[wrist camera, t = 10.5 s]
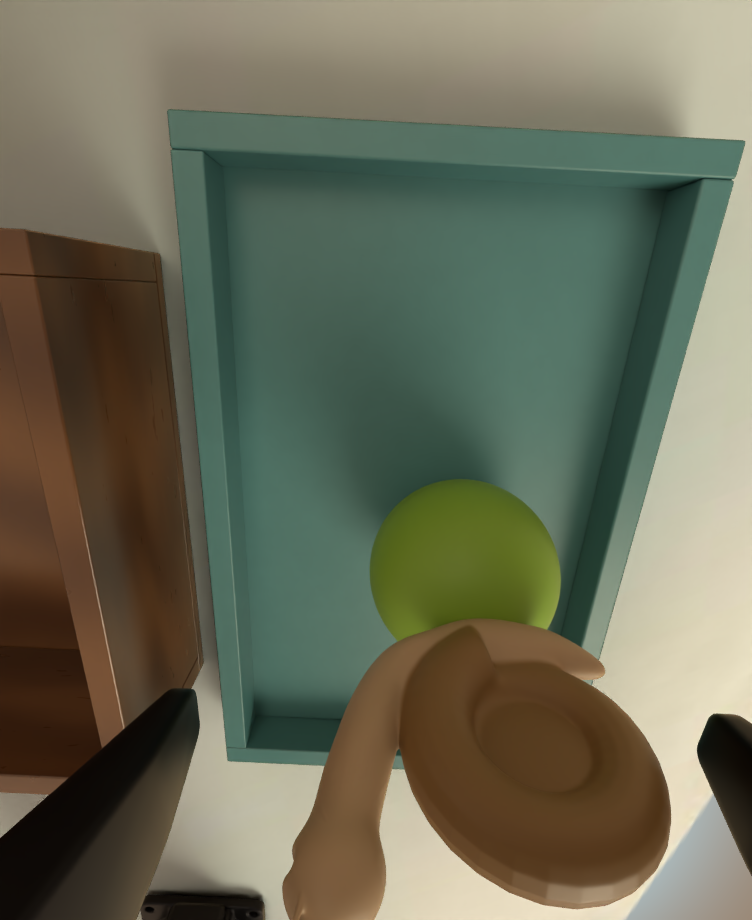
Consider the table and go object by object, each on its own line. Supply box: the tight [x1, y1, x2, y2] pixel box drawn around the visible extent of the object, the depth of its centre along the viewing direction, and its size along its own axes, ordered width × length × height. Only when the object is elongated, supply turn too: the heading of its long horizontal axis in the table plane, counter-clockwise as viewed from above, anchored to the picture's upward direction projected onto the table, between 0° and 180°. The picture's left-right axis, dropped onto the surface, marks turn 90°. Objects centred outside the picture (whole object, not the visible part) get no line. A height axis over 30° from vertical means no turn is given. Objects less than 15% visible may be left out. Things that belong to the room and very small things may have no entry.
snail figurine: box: [282, 479, 671, 920], centre depth 10 cm, size 5×6×12 cm
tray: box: [167, 109, 745, 769], centre depth 15 cm, size 22×14×2 cm, turn 177°
